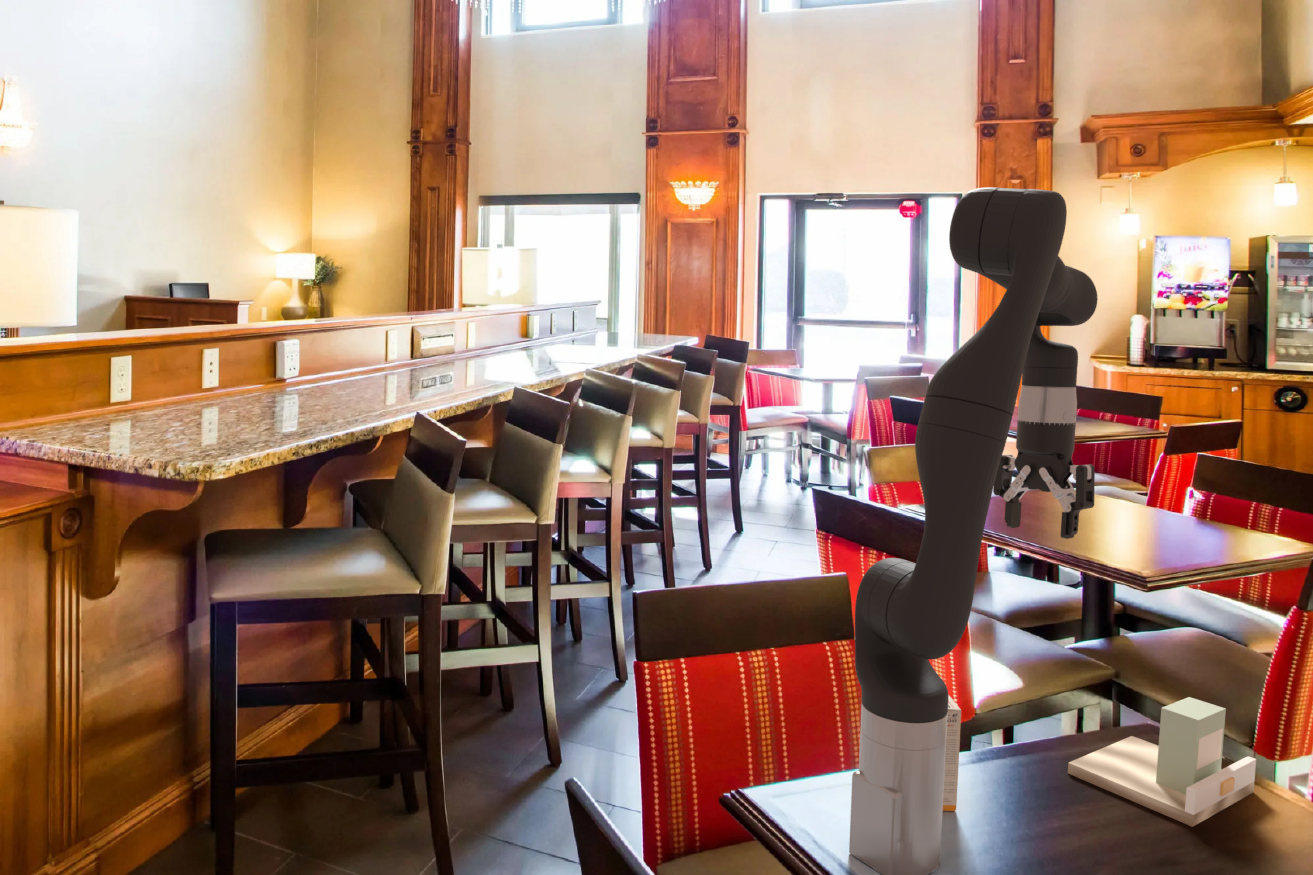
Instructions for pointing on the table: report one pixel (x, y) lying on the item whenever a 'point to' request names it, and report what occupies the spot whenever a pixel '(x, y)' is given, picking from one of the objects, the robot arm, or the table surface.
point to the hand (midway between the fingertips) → (1039, 532)
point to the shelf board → (1134, 778)
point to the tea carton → (1189, 743)
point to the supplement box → (952, 756)
